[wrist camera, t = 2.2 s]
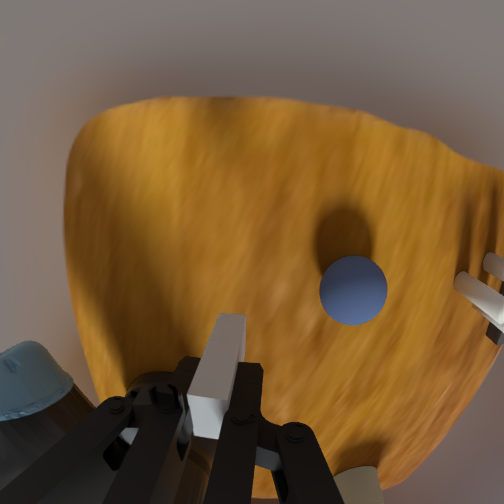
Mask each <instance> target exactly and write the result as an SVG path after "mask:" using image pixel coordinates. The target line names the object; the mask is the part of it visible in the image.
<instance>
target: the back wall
mask: <svg viewBox="0 0 504 504" xmlns="http://www.w3.org/2000/svg"><path fill="white" fill-rule="evenodd" d="M500 294H501V295H503V296H504V281H503V284H502V287H501V291H500ZM486 336H487V337H488V338H490V339H491V340H492V341H493V342H494V343H495V344H496V345H500V344H504V333H503V332H502V331H501V330H500V329H499V328H497V327H496V326H495V325H494V324H493V323H491V322H490V325H489V327H488V330H487V333H486Z"/></svg>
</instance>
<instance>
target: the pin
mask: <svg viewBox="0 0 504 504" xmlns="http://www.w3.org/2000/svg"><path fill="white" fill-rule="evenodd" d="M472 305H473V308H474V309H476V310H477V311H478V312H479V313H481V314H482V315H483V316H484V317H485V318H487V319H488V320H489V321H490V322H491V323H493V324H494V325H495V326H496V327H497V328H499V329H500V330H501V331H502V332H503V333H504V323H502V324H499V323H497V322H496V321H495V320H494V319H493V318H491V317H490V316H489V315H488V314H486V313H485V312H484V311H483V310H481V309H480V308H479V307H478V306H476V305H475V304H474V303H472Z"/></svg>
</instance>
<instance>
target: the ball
mask: <svg viewBox="0 0 504 504" xmlns="http://www.w3.org/2000/svg"><path fill="white" fill-rule="evenodd" d="M386 297H387V282H386V278H385V276H384V273H383V272H382V270H381V269H380V267H379V266H378V265H377V264H376V263H375V262H373V261H372V260H370V259H368V258H366V257H362V256H357V255H352V256H346V257H343V258H340V259H338V260H337V261H335V262H334V263H332V264H331V265H330V266H329V267H328V269H327V270H326V271H325V273H324V275H323V277H322V280H321V283H320V299H321V303H322V305H323V307H324V309H325V311H326V312H327V313H328V315H329V316H330V317H332V318H333V319H334V320H336V321H338V322H340V323H342V324H346V325H359V324H363V323H366V322H368V321H370V320H371V319H373V318H374V317H375V316H376V315H377V314H378V313H379V312H380V310H381V309H382V307H383V306H384V303H385V301H386Z"/></svg>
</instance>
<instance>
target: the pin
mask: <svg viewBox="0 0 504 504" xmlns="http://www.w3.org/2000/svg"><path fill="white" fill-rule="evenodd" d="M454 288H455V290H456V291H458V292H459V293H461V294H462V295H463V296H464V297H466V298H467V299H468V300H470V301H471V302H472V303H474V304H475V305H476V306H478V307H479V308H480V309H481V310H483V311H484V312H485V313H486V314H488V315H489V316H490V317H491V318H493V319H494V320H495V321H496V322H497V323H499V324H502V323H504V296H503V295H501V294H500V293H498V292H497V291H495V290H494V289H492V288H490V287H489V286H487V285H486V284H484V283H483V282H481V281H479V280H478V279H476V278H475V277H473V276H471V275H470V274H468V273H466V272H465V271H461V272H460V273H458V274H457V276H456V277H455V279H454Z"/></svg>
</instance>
